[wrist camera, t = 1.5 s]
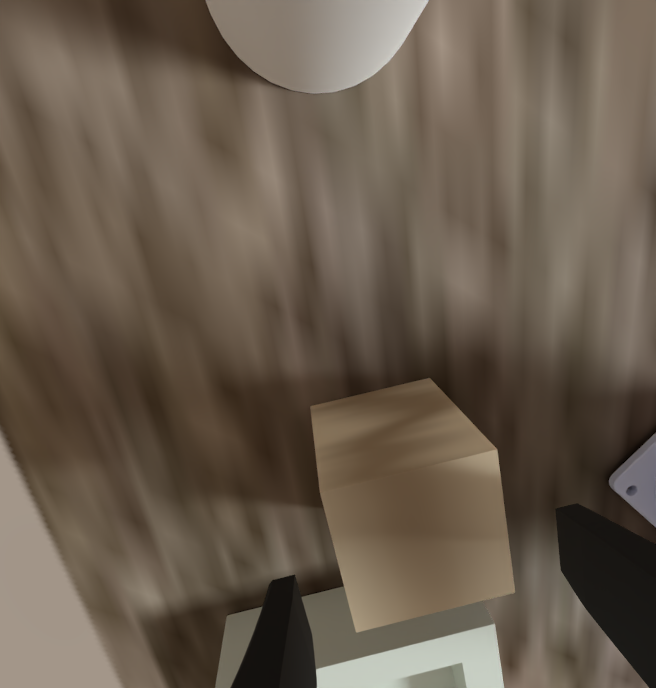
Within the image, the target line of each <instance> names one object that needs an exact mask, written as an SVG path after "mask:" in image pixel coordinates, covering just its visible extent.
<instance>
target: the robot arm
mask: <svg viewBox="0 0 656 688" xmlns="http://www.w3.org/2000/svg"><path fill="white" fill-rule="evenodd" d="M609 486H610V487H611V488H612V489H613V490H614V491H615V492H616V493H617V494H619V495H620V496H621V497H622V498H623V499H624V500H625V501H626V502H628V503H629V504H630V505H631V506H632V507H633V508H634V509H635V510H637V511H638V512H639V513H640V514H641V515H642V516H643V517H645V518H646V519H647V520H648V521H649V522H650V523H651V524H652V525H654V526H655V527H656V433H655V434H654V435H653V436H652V437H651V438H650V439H649V440H648V441H646V442H645V443H644V444H643V445H642V446H641V447H640V448H639V449H638V450H637V451H636V452H635V453H634V454H633V455H632V456H631V457H630V458H629V459H628V460H627V461H626V462H624V463H623V464H622V465H621V466H620V467H619V468H618V469H617V470H616V471H615V472H614V473H613V474H612V475H611V477H610V479H609ZM628 487H630V488H629V489H628ZM556 520H557V531H558V543H559V554H560V566H561V571H562V573H563V574H564V576H565V577H566V579H567V581H568V582H569V584H570V585H571V587H572V589H573V590H574V592H575V593H576V595H577V596H578V598H579V599H580V601H581V602H582V604H583V605H584V607H585V608H586V610H587V611H588V612H589V613H590V615H591V616H592V617H593V618H594V620H595V621H596V622H597V623H598V625H599V626H600V627H601V628H602V630H603V631H604V632H605V633H606V635H607V636H608V637H609V638H610V640H611V641H612V642H613V643H614V645H615V646H616V647H617V648H618V650H619V651H620V652H621V653H622V655H623V656H624V657H625V658H626V659H627V661H628V662H629V663H630V664H631V666H632V667H633V668H634V669H635V671H636V672H637V673H638V674H639V675H640V677H641V678H642V679H643V680H644V682H645V683H646V684H647V685H648V687H649V688H656V544H654V543H652V542H650V541H648V540H646V539H644V538H642V537H640V536H638V535H637V534H635V533H633V532H631V531H629V530H627V529H625V528H623V527H621V526H619V525H618V524H616V523H614V522H612V521H610V520H608V519H606V518H604V517H603V516H601V515H599V514H597V513H595V512H593V511H591V510H589V509H587V508H585V507H583V506H581V505H579V504H573V505H569V506H565V507H561V508H557V509H556ZM230 688H317V676H316V665H315V656H314V646H313V637H312V632H311V628H310V625H309V621H308V618H307V615H306V611H305V608H304V604H303V601H302V598H301V594H300V591H299V587H298V584H297V581H296V577H295V575H292V576H288V577H284V578H280V579H276V580H272V582H271V583H270V584H269V587H268V591H267V594H266V597H265V601H264V604H263V607H262V610H261V613H260V616H259V618H258V621H257V624H256V627H255V630H254V632H253V635H252V637H251V640H250V642H249V645H248V648H247V650H246V653H245V655H244V658H243V660H242V663H241V665H240V667H239V670H238V672H237V674H236V676H235V679H234V681H233V683H232V685H231V687H230Z"/></svg>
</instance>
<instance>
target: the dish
mask: <svg viewBox="0 0 656 688" xmlns="http://www.w3.org/2000/svg"><path fill="white" fill-rule="evenodd" d="M301 598H302V601H303V604H304V608H305V611H306V615H307V618H308V621H309V625H310V628H311V632H312V637H313V646H314V656H315V665H316V676H317V688H504V684H503V677H502V671H501V664H500V657H499V650H498V643H497V636H496V629H495V623H494V621H493V620H492V618H491V616H490V614H489V612H488V610H487V608H486V606H485V604H484V602H483V601H480V602H476V603H472V604H468V605H464V606H460V607H456V608H452V609H448V610H444V611H440V612H436V613H432V614H428V615H424V616H420V617H416V618H412V619H409V620H405V621H401V622H397V623H393V624H389V625H385V626H381V627H377V628H373V629H369V630H365V631H361V632H357V633H356V631H355V627H354V623H353V619H352V615H351V611H350V607H349V603H348V600H347V596H346V592H345V588H344V586H343V587H339V588H335V589H331V590H327V591H323V592H319V593H315V594H311V595H307V596H303V597H301ZM261 610H262V607H259V608H255V609H251V610H247V611H243V612H239V613H235V614H231V615H227V618H226V624H225V630H224V636H223V642H222V648H221V654H220V661H219V667H218V673H217V679H216V685H215V688H230V687H231V685H232V683H233V681H234V679H235V676H236V674H237V672H238V670H239V667H240V665H241V663H242V660H243V658H244V655H245V653H246V650H247V648H248V645H249V642H250V640H251V637H252V635H253V632H254V630H255V627H256V624H257V621H258V618H259V616H260V613H261Z"/></svg>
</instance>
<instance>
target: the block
mask: <svg viewBox="0 0 656 688" xmlns="http://www.w3.org/2000/svg"><path fill="white" fill-rule="evenodd" d="M310 410H311V418H312V427H313V436H314V445H315V454H316V462H317V471H318V480H319V489H320V495H321V499H322V503H323V506H324V510H325V514H326V518H327V522H328V526H329V530H330V534H331V537H332V541H333V545H334V549H335V553H336V557H337V561H338V565H339V569H340V572H341V576H342V580H343V584H344V588H345V592H346V596H347V600H348V603H349V607H350V611H351V615H352V619H353V623H354V627H355V631H356V633H357V632H361V631H365V630H369V629H373V628H377V627H381V626H385V625H389V624H393V623H397V622H401V621H405V620H409V619H412V618H416V617H420V616H424V615H428V614H432V613H436V612H440V611H444V610H448V609H452V608H456V607H460V606H464V605H468V604H472V603H476V602H480V601H484V600H488V599H492V598H496V597H500V596H504V595H508V594H512V593H515V587H514V579H513V571H512V563H511V555H510V547H509V539H508V531H507V523H506V515H505V507H504V499H503V491H502V483H501V475H500V467H499V459H498V451H497V449H496V447H495V446H494V445H493V444H492V443H491V442H490V441H489V440H488V439H487V438H486V437H485V436H484V435H483V434H482V433H481V432H480V431H479V429H478V428H477V427H476V426H475V425H474V424H473V423H472V422H471V421H470V420H469V419H468V418H467V417H466V416H465V415H464V414H463V413H462V411H461V410H460V409H459V408H458V407H457V406H456V405H455V404H454V403H453V402H452V401H451V400H450V399H449V398H448V397H447V396H446V395H445V393H444V392H443V391H442V390H441V389H440V388H439V387H438V386H437V385H436V384H435V383H434V382H433V381H432V380H431V379H430V378H427V379H423V380H418V381H414V382H410V383H406V384H402V385H397V386H393V387H389V388H385V389H381V390H376V391H372V392H368V393H364V394H360V395H355V396H351V397H347V398H343V399H339V400H334V401H330V402H326V403H322V404H318V405H313V406H310Z"/></svg>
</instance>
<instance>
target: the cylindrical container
mask: <svg viewBox="0 0 656 688" xmlns="http://www.w3.org/2000/svg"><path fill="white" fill-rule="evenodd" d="M205 1H206V3H207V6H208V9H209V12H210V14H211V16H212V18H213V20H214V22H215V24H216V26H217V28H218V29H219V31H220V33H221V35H222V37H223V38H224V40H225V41H226V42H227V44H228V45H229V46H230V48H231V49H232V50H233V51H234V53H235V54H236V55H237V57H238V58H240V59H241V60H242V61H243V62H244V63H245V64H246V65H247V66H248V67H249V68H250V69H252V70H253V71H254V72H255V73H257V74H259V75H260V76H262V77H263V78H265V79H266V80H268V81H270V82H271V83H274V84H276V85H279V86H281V87H284V88H287V89H289V90H292V91H299V92H305V93H311V94H316V93H330V92H337V91H340V90H343V89H346V88H350V87H353V86H356V85H357V84H359V83H361V82H362V81H364V80H366V79H368V78H369V77H371V76H373V75H374V74H375V73H377V72H378V71H379V70H380V69H381V68H382V67H383V66H384V65H385V64H387V63H388V62H389V61H390V60H391V58H392V57H393V56H394V54H395V53H396V52H397V51H398V49H399V48H400V47H401V45H402V44H403V42H404V41H405V39H406V37H407V36H408V34H409V32H410V31H411V29H412V27H413V26H414V24H415V22H416V21H417V19H418V17H419V16H420V14H421V13H422V11H423V9H424V8H425V6H426V4H427V3H428V1H429V0H205Z"/></svg>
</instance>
